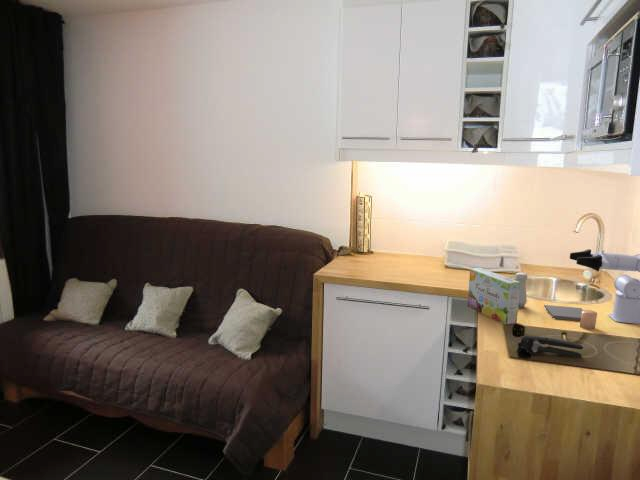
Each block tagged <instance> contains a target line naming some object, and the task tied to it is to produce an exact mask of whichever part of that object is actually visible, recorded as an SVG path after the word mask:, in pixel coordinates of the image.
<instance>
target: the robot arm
mask: <svg viewBox="0 0 640 480" xmlns="http://www.w3.org/2000/svg"><path fill="white" fill-rule="evenodd" d="M569 259H570V260H573V261H576V262H575V263H576V264H577V265H579V266H582V267H587V268H590V269H592V270H594V271H596V272H599V271H600V270H611V271H613V270H614V271H623V272H638V273H640V254H637V253H636V254H635V255H630V254H621V253H609V252H605V251H604V249H602V248H600V249H599V251H598V252H595V253H594V252H593V253H592V249H585V250H582V251H575V252H569ZM613 286H614V288H615V289H616V291H615V295H614V300H613V309H612V313H607V315H608V317H610V318H611V319H612V320H613V321H615V322H617V323H628V324H638V325H640V278H636V277H631V276H630V275H627V274H620V275H618V276H617V277H616V278H615V279H614V282H613Z"/></svg>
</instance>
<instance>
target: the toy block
mask: <svg viewBox="0 0 640 480" xmlns="http://www.w3.org/2000/svg"><path fill="white" fill-rule="evenodd" d="M597 318H598V312H597V311H594V310H589V309H583V310H582V314H581V321H579V327H580V328H581V329H583V330H587V331H588V330H589V331H593V330H596V324H597Z"/></svg>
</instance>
